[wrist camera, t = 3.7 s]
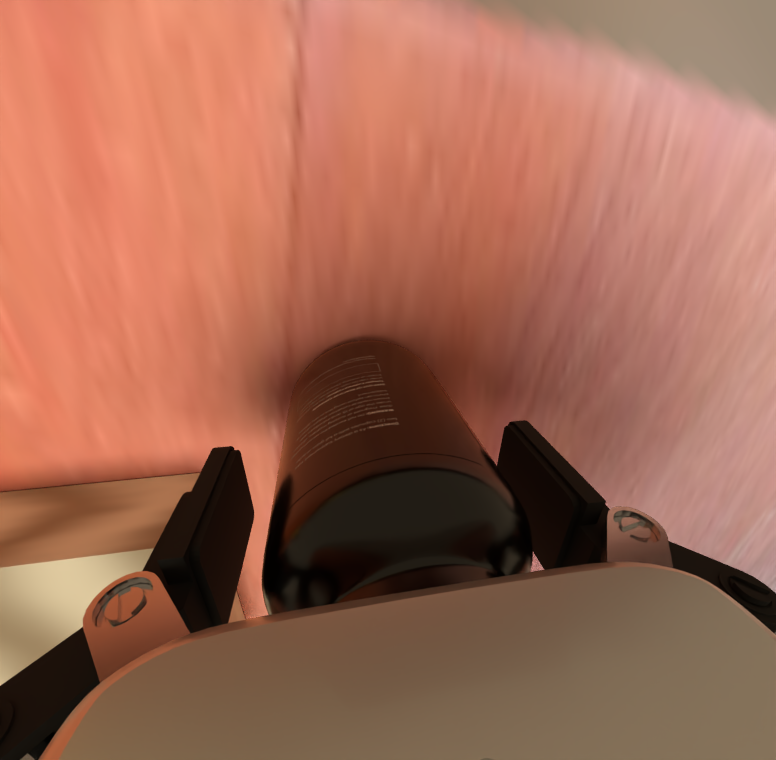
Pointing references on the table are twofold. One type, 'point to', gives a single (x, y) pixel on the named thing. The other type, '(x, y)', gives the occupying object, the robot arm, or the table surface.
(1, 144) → the table surface
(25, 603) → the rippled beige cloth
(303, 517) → the supplement bottle
